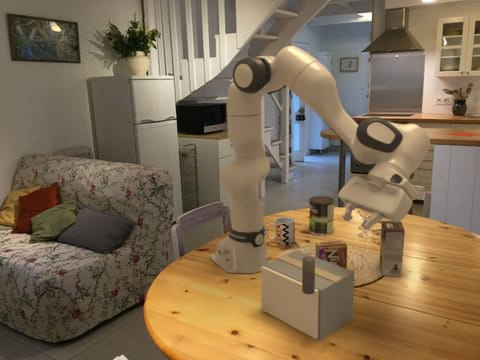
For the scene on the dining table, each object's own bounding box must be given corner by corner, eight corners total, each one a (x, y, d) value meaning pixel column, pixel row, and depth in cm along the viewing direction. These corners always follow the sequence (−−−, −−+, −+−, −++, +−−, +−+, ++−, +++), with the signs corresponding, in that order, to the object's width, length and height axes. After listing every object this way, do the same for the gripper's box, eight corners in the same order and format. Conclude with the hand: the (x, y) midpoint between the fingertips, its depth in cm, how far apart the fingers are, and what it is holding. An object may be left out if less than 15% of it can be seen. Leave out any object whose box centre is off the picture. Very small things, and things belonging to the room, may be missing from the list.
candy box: (342, 285, 133) (343, 239, 130) (346, 291, 129) (348, 245, 125) (314, 287, 132) (315, 241, 129) (318, 294, 128) (319, 247, 125)
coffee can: (315, 237, 173) (316, 204, 169) (304, 228, 182) (305, 197, 179) (338, 233, 176) (339, 201, 172) (326, 225, 185) (326, 195, 182)
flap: (256, 312, 118) (255, 241, 112) (264, 308, 119) (263, 238, 114) (310, 342, 104) (311, 263, 99) (317, 337, 106) (319, 259, 101)
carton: (263, 309, 120) (262, 263, 117) (296, 292, 129) (296, 249, 126) (321, 341, 106) (322, 289, 102) (353, 319, 115) (355, 271, 111)
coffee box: (378, 263, 147) (381, 220, 143) (398, 264, 146) (400, 221, 142) (381, 275, 139) (384, 229, 135) (402, 277, 137) (405, 230, 133)
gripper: (351, 165, 115) (322, 205, 113) (411, 181, 97) (377, 229, 95) (363, 179, 118) (334, 218, 116) (424, 196, 100) (391, 243, 98)
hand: (354, 223), depth 106 cm, fingers open, 6 cm apart
